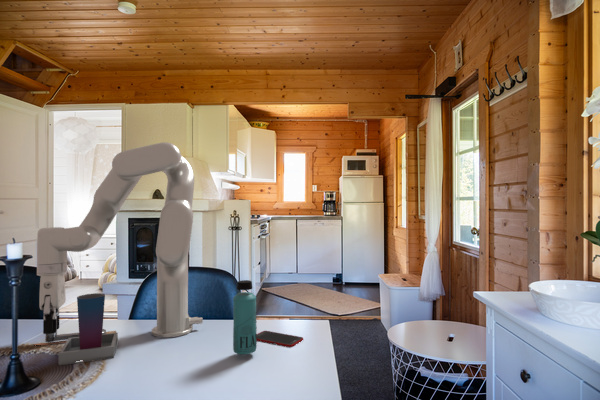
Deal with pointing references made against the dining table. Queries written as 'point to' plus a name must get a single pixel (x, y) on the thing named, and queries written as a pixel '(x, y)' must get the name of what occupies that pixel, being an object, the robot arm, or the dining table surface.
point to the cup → (90, 319)
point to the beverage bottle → (244, 319)
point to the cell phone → (278, 338)
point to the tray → (88, 350)
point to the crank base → (65, 340)
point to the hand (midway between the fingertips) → (51, 330)
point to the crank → (62, 335)
